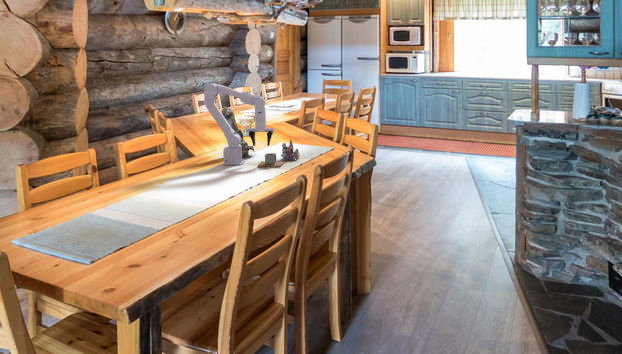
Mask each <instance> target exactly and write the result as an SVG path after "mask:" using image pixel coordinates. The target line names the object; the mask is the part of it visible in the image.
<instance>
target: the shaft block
mask: <svg viewBox="0 0 622 354" xmlns="http://www.w3.org/2000/svg"><path fill="white" fill-rule="evenodd" d="M284 165H285V162H284V161H276V164H275V165H265V161H261V162H260V163H259V164H257V168H266V167H281V166H282V167H283V166H284ZM282 167H281V168H282Z"/></svg>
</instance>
